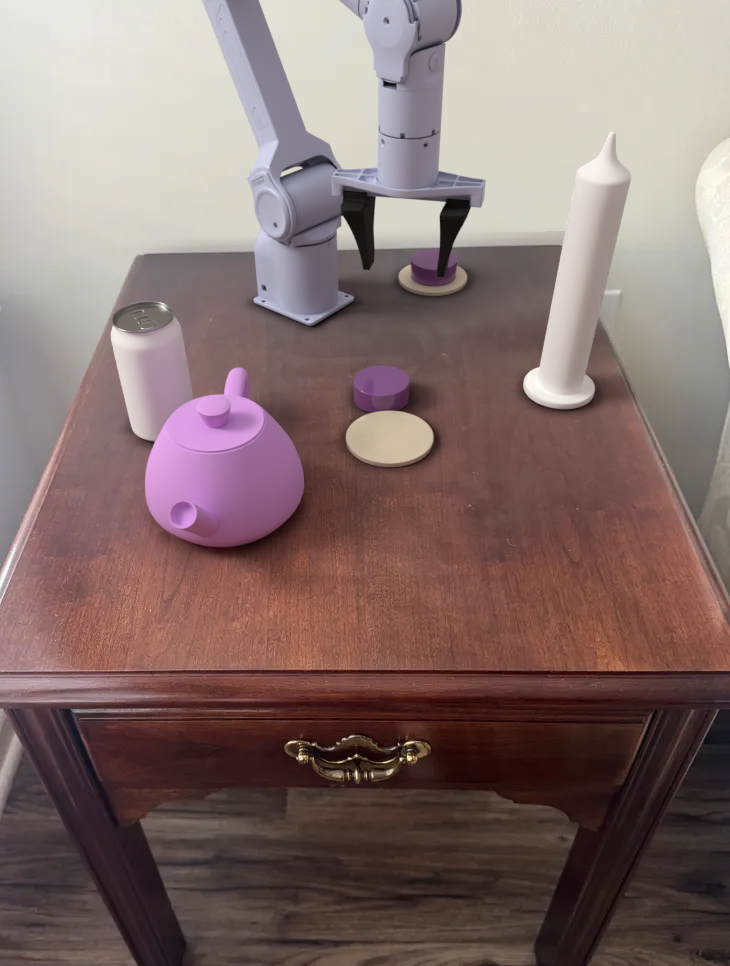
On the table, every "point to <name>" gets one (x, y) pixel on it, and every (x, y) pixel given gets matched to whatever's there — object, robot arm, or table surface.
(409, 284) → the coaster far
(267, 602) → the table surface
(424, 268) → the purple round puck
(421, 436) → the coaster near
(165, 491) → the teapot
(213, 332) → the table surface
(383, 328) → the table surface
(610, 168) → the candle
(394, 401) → the purple puck
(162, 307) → the can
